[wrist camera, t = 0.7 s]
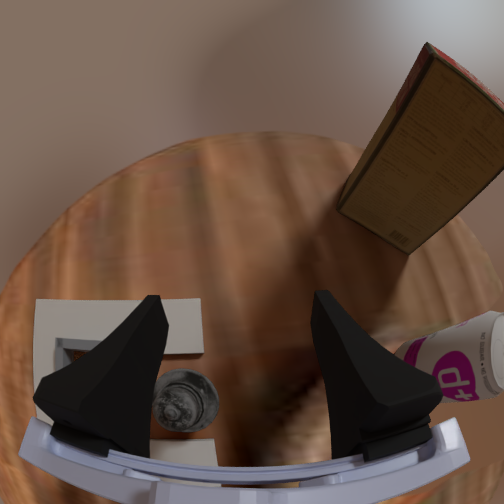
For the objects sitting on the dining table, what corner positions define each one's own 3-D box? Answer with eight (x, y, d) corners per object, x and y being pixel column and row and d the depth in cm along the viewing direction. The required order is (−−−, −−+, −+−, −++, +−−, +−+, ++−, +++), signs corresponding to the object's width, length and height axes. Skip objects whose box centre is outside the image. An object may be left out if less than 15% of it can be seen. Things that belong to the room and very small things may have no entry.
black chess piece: (162, 426, 21) (128, 459, 10) (155, 370, 24) (115, 365, 13) (222, 423, 22) (230, 457, 12) (214, 367, 25) (216, 361, 14)
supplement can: (396, 415, 24) (496, 415, 11) (377, 357, 27) (477, 329, 14) (437, 383, 26) (527, 365, 13) (420, 330, 29) (509, 292, 16)
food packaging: (416, 213, 38) (509, 107, 16) (410, 258, 34) (534, 144, 12) (349, 171, 39) (424, 38, 17) (333, 211, 35) (431, 50, 13)
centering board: (220, 483, 19) (221, 492, 17) (49, 463, 15) (38, 467, 13) (200, 300, 27) (199, 293, 25) (39, 301, 24) (28, 294, 22)
